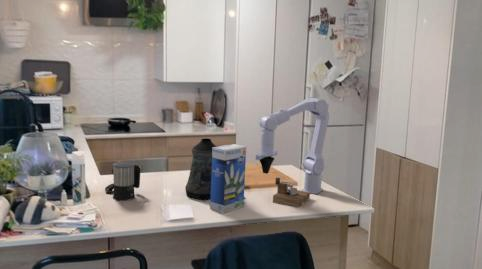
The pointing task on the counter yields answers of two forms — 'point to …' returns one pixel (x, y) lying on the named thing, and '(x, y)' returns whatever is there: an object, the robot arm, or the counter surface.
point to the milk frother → (124, 180)
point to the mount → (288, 199)
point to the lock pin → (283, 183)
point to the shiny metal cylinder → (292, 191)
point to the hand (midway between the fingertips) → (265, 173)
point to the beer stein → (200, 171)
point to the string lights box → (228, 177)
